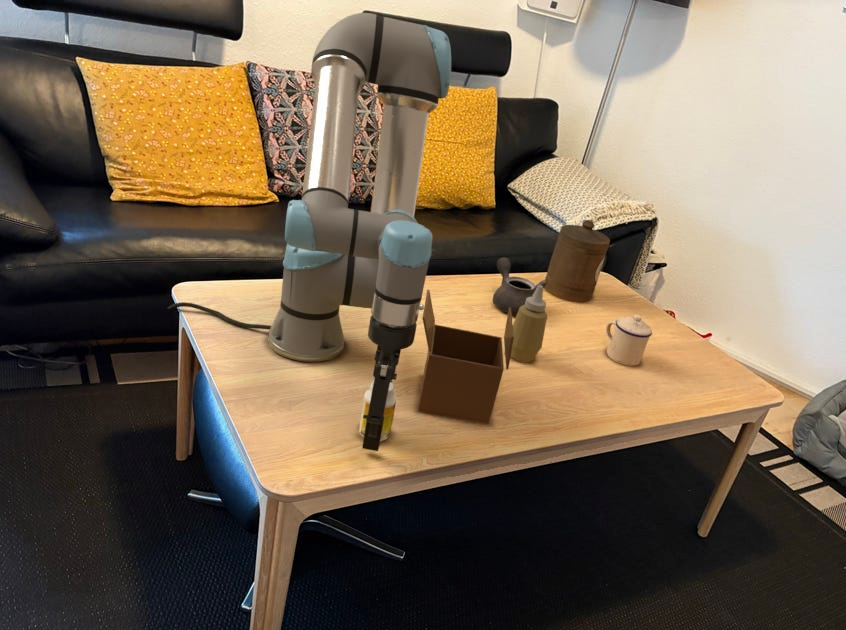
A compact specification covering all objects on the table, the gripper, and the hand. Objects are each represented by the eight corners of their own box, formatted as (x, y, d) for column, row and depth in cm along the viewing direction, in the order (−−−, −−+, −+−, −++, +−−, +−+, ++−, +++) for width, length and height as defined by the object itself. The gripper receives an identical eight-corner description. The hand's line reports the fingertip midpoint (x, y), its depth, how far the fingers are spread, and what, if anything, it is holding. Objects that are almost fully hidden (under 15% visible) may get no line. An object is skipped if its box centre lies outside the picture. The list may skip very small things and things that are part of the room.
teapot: (553, 316, 182) (564, 282, 177) (509, 321, 173) (518, 286, 168) (512, 286, 194) (521, 254, 190) (469, 289, 185) (477, 255, 181)
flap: (431, 351, 122) (428, 351, 122) (435, 321, 133) (433, 321, 133) (424, 317, 119) (422, 318, 119) (429, 289, 130) (427, 289, 130)
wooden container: (600, 303, 198) (624, 232, 187) (557, 301, 191) (578, 228, 181) (577, 281, 209) (598, 214, 199) (535, 279, 203) (554, 209, 193)
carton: (417, 411, 128) (436, 321, 119) (422, 376, 140) (439, 293, 131) (493, 424, 130) (517, 337, 121) (492, 389, 141) (513, 307, 132)
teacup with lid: (647, 363, 169) (663, 322, 163) (625, 369, 163) (640, 327, 158) (612, 340, 176) (626, 300, 171) (589, 345, 171) (603, 304, 165)
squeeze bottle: (535, 368, 154) (556, 297, 145) (501, 359, 154) (520, 287, 146) (539, 353, 161) (559, 285, 152) (506, 344, 161) (525, 275, 153)
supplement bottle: (393, 442, 118) (402, 394, 113) (362, 444, 116) (370, 394, 111) (385, 423, 123) (394, 376, 118) (355, 424, 120) (363, 376, 116)
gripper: (410, 357, 99) (388, 474, 109) (422, 294, 119) (402, 397, 129) (359, 348, 98) (342, 466, 108) (380, 285, 118) (363, 390, 129)
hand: (375, 428), depth 119 cm, fingers open, 11 cm apart
